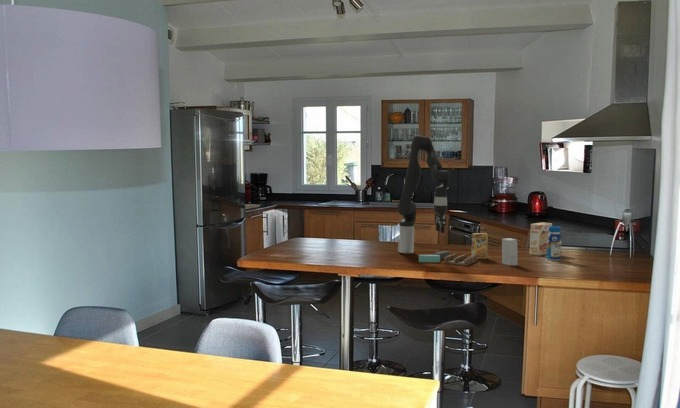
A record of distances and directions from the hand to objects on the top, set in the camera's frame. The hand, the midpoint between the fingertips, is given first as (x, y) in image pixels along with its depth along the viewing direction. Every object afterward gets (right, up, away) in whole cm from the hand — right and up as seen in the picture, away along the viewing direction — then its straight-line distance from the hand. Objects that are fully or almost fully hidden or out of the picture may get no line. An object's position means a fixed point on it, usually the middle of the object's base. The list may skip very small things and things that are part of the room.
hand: (440, 231), depth 348 cm
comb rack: (+12, -18, -1) cm, 21 cm away
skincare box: (+39, -19, -7) cm, 44 cm away
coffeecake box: (+69, -16, +29) cm, 76 cm away
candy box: (+26, -17, +11) cm, 33 cm away
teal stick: (-6, -18, 0) cm, 19 cm away
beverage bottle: (+70, -17, +8) cm, 73 cm away
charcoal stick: (+3, -17, +11) cm, 20 cm away
